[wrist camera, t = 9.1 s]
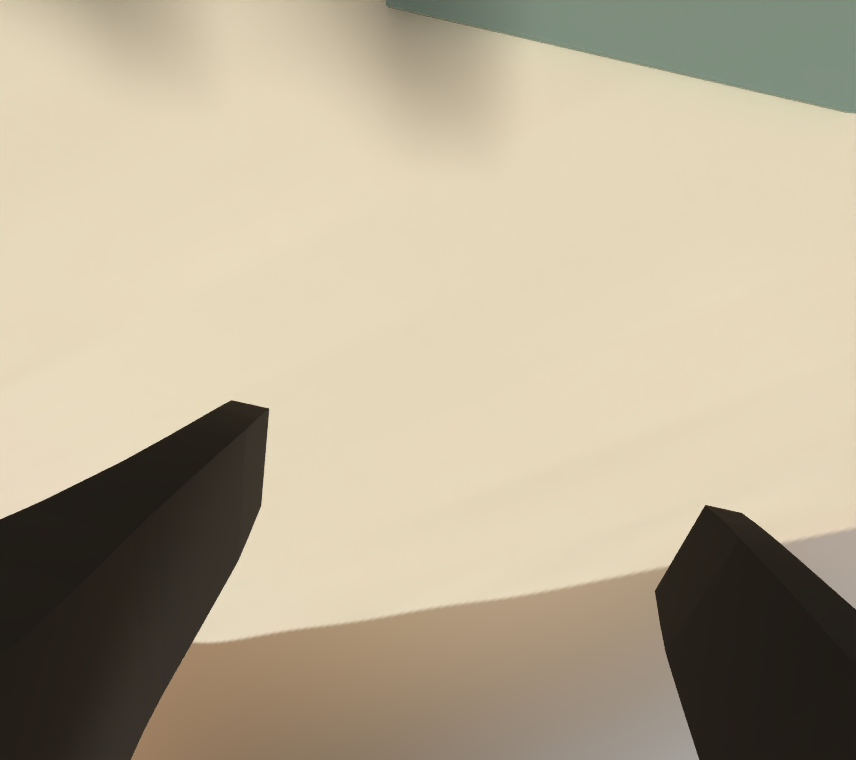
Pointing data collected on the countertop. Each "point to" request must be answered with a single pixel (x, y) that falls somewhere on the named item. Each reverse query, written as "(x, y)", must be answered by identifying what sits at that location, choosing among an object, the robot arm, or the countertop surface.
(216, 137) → the countertop surface
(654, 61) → the rubber mat
